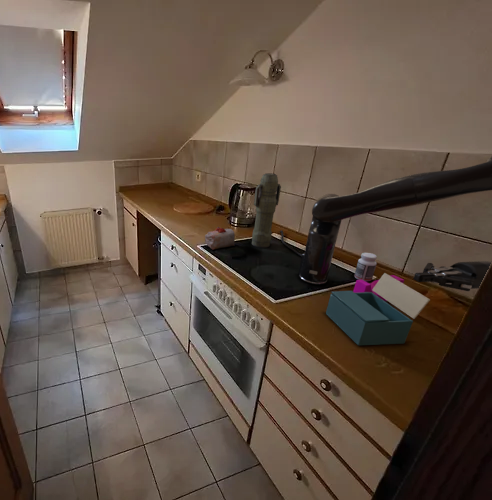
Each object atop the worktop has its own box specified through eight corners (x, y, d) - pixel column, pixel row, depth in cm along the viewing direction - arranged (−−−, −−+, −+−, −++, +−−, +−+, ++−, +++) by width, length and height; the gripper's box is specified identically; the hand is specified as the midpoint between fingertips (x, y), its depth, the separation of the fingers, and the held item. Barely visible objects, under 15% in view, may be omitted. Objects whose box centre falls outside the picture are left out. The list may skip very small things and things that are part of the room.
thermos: (245, 242, 153) (253, 173, 140) (264, 239, 156) (274, 171, 143) (255, 249, 146) (265, 176, 132) (276, 245, 148) (287, 174, 135)
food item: (211, 251, 145) (213, 232, 141) (203, 245, 151) (204, 227, 148) (235, 247, 149) (237, 228, 145) (226, 241, 155) (227, 223, 152)
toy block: (380, 290, 108) (386, 271, 105) (397, 299, 102) (404, 279, 99) (345, 295, 105) (350, 276, 102) (360, 305, 100) (366, 285, 97)
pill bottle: (371, 276, 117) (378, 253, 113) (372, 283, 113) (379, 259, 109) (353, 273, 120) (359, 251, 116) (354, 279, 115) (360, 256, 111)
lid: (384, 272, 90) (385, 273, 91) (371, 290, 93) (373, 290, 93) (429, 299, 77) (430, 299, 77) (413, 318, 79) (414, 319, 79)
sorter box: (325, 313, 96) (331, 291, 93) (365, 312, 96) (372, 289, 93) (358, 345, 82) (366, 320, 79) (404, 343, 82) (414, 318, 79)
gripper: (458, 253, 88) (400, 255, 87) (511, 273, 75) (444, 276, 75) (449, 275, 91) (393, 278, 90) (498, 299, 78) (433, 302, 78)
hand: (416, 277), depth 83 cm, fingers closed
